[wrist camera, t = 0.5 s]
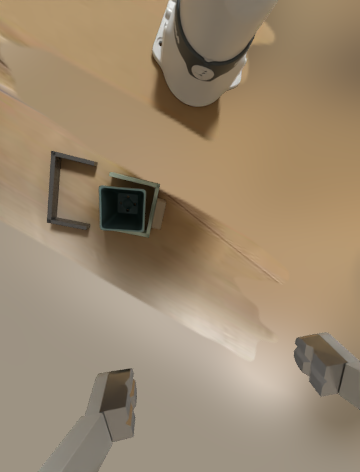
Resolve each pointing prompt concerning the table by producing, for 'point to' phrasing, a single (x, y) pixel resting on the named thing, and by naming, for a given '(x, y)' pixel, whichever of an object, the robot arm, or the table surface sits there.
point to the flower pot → (122, 209)
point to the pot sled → (156, 208)
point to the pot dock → (55, 188)
